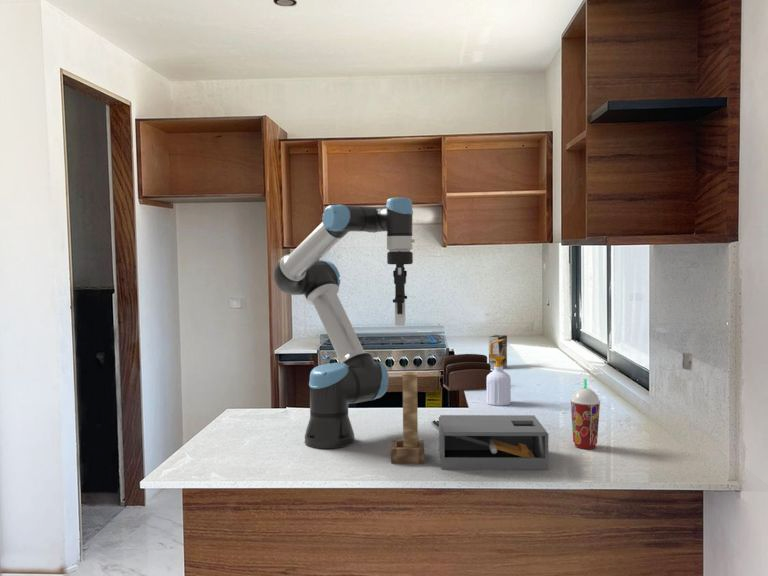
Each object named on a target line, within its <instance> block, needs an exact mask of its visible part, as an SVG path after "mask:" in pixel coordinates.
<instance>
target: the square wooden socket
mask: <svg viewBox="0 0 768 576" xmlns="http://www.w3.org/2000/svg"><path fill="white" fill-rule="evenodd" d="M424 442H425V439H418V448H412V447H403V439H391V447H390V463H391V464H392V465H393V464H395V465H396V464H400V465H401V464H402V465H403V464H405V465H406V464H409V465H410V464H412V465H413V464H414V465H415V464H417V465H418V464H419V465H420V464H422V465H423V464H425V444H424Z"/></svg>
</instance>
